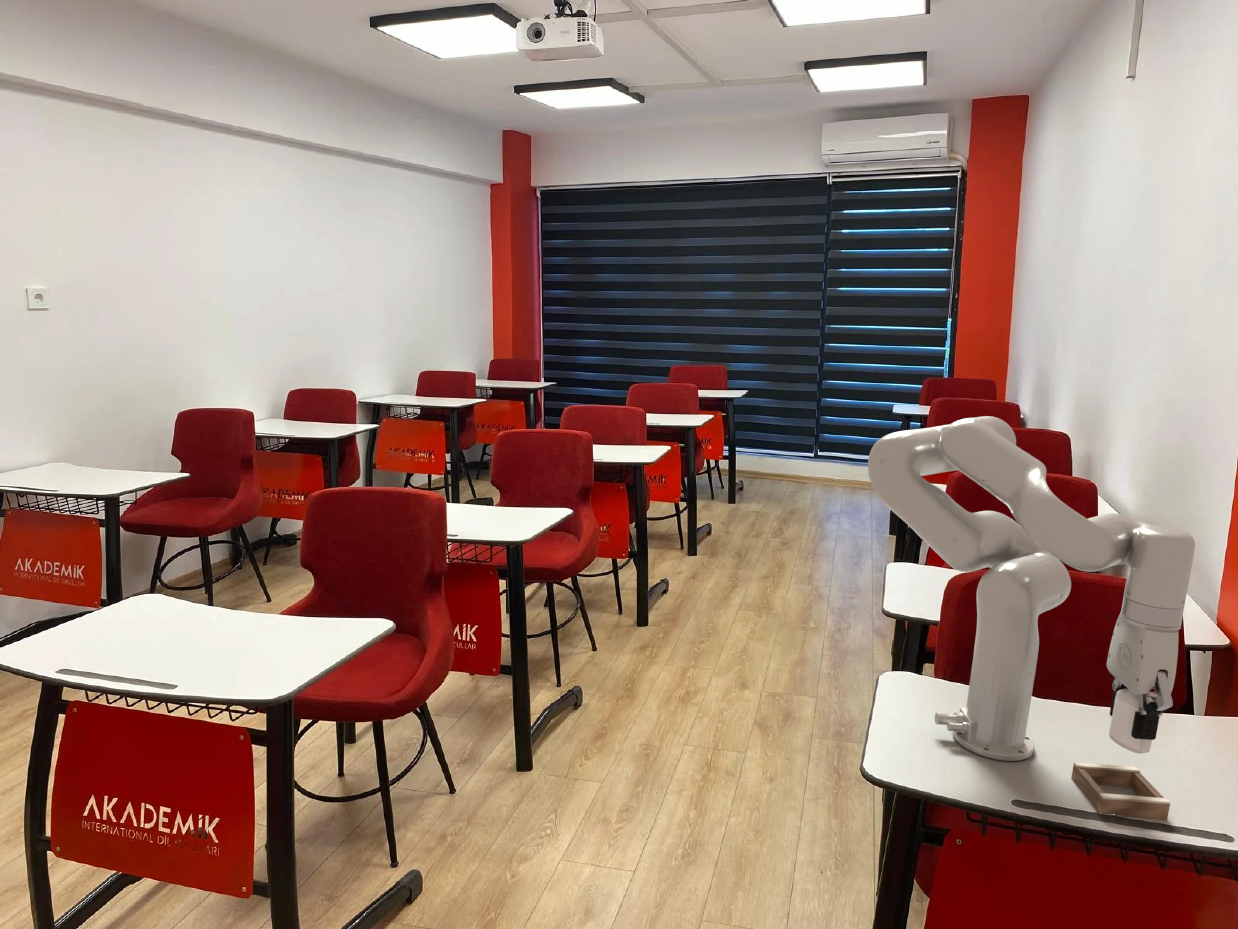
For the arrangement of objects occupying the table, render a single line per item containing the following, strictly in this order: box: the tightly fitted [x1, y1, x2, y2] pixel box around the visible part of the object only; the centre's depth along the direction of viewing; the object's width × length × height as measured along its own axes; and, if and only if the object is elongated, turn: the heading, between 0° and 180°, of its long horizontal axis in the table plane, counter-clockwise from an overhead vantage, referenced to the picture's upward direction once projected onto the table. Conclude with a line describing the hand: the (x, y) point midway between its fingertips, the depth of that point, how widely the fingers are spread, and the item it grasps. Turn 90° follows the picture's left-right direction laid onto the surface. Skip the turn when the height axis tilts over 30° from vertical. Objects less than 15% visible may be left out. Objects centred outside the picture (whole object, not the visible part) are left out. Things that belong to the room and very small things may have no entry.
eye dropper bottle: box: [1108, 689, 1154, 755], centre depth 128 cm, size 4×6×12 cm
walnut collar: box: [1070, 761, 1171, 821], centre depth 131 cm, size 10×10×3 cm
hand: (1131, 726), depth 129 cm, fingers closed on eye dropper bottle, 5 cm apart
